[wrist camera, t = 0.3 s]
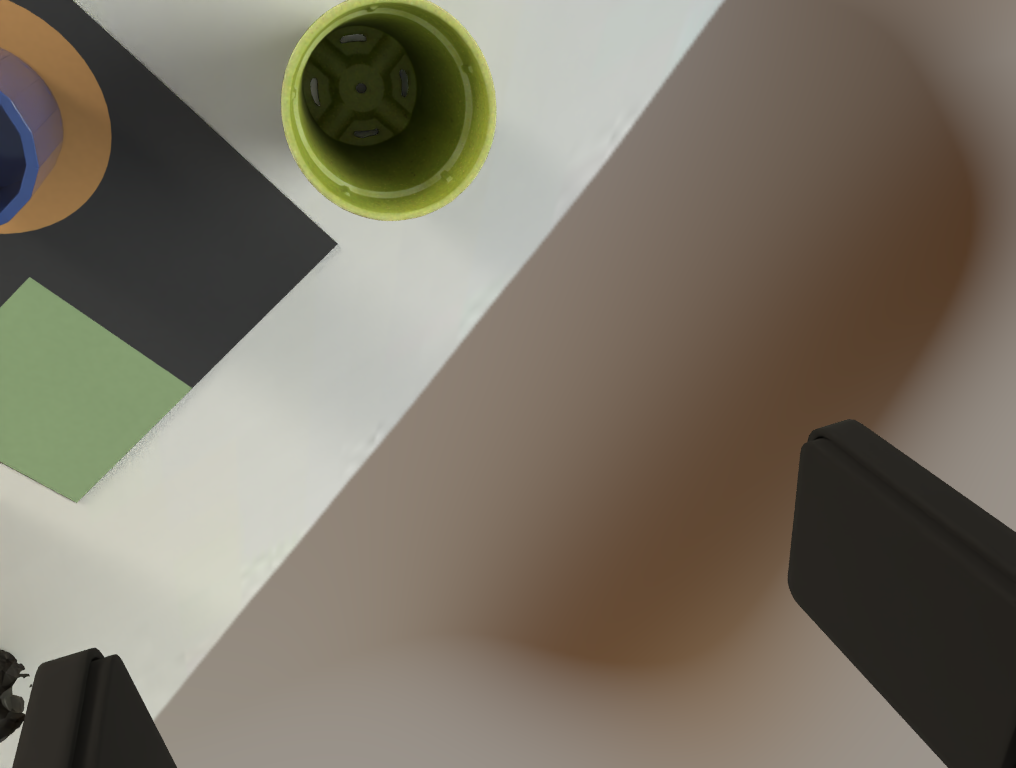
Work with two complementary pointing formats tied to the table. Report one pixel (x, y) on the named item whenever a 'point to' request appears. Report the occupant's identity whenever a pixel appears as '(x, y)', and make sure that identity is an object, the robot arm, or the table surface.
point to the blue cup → (25, 133)
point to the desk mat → (125, 256)
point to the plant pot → (389, 108)
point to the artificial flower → (10, 695)
